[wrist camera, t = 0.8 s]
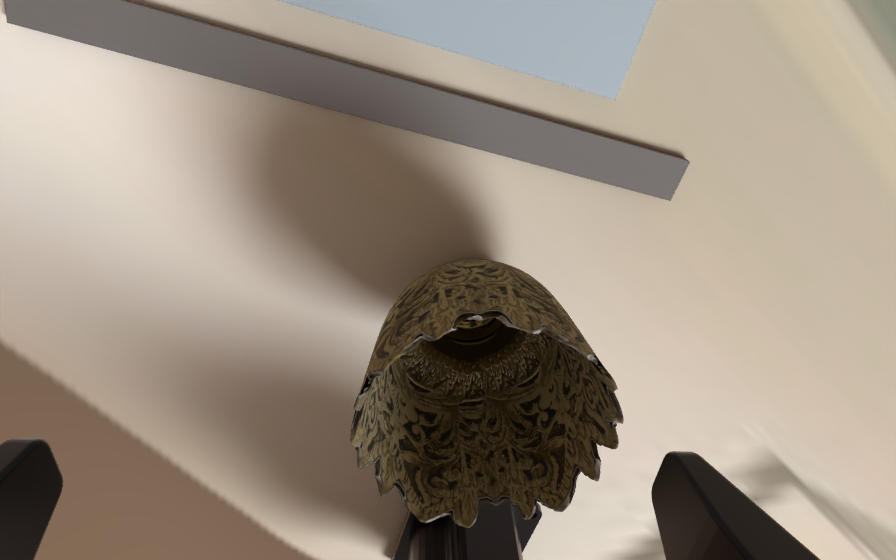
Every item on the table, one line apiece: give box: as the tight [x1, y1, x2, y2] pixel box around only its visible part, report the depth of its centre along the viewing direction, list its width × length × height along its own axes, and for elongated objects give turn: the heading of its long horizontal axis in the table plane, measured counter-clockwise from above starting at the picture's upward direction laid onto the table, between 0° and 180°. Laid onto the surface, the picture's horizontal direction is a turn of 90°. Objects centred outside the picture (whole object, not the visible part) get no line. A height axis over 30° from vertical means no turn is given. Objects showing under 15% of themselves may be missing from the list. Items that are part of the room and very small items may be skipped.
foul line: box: [5, 0, 690, 201], centre depth 18 cm, size 2×22×1 cm, turn 75°
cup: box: [351, 259, 623, 528], centre depth 18 cm, size 8×7×8 cm
